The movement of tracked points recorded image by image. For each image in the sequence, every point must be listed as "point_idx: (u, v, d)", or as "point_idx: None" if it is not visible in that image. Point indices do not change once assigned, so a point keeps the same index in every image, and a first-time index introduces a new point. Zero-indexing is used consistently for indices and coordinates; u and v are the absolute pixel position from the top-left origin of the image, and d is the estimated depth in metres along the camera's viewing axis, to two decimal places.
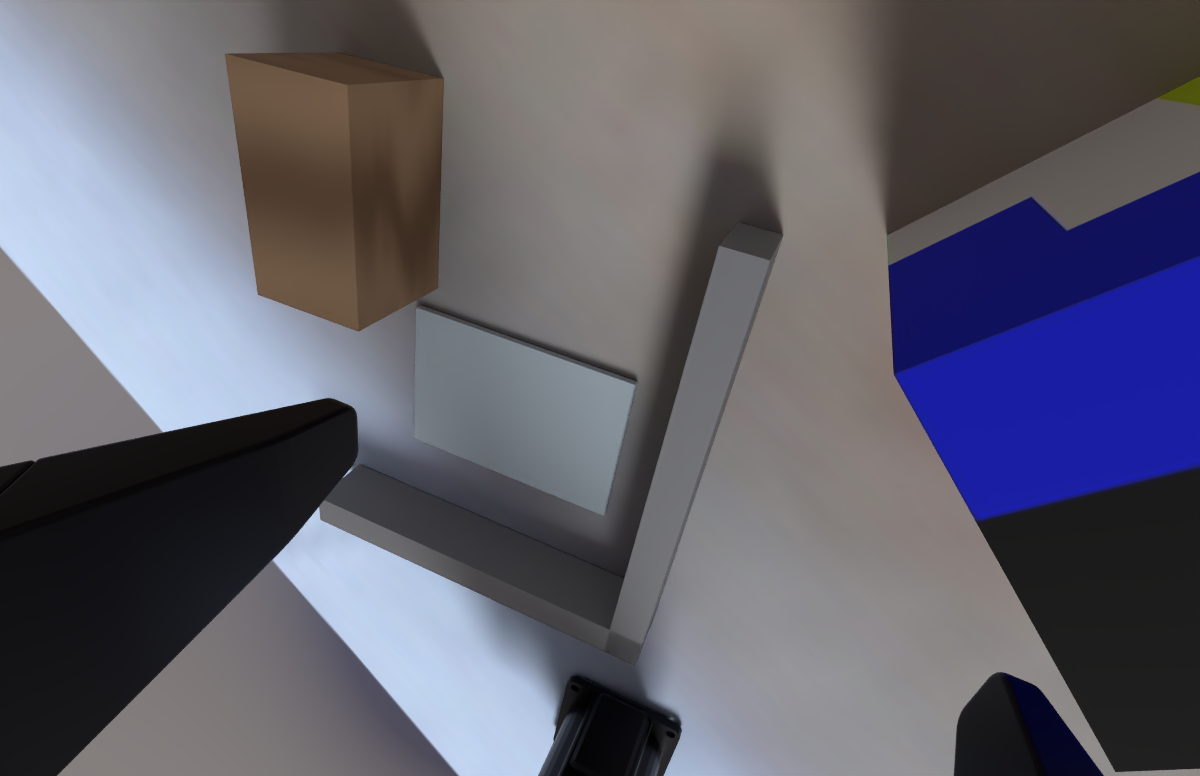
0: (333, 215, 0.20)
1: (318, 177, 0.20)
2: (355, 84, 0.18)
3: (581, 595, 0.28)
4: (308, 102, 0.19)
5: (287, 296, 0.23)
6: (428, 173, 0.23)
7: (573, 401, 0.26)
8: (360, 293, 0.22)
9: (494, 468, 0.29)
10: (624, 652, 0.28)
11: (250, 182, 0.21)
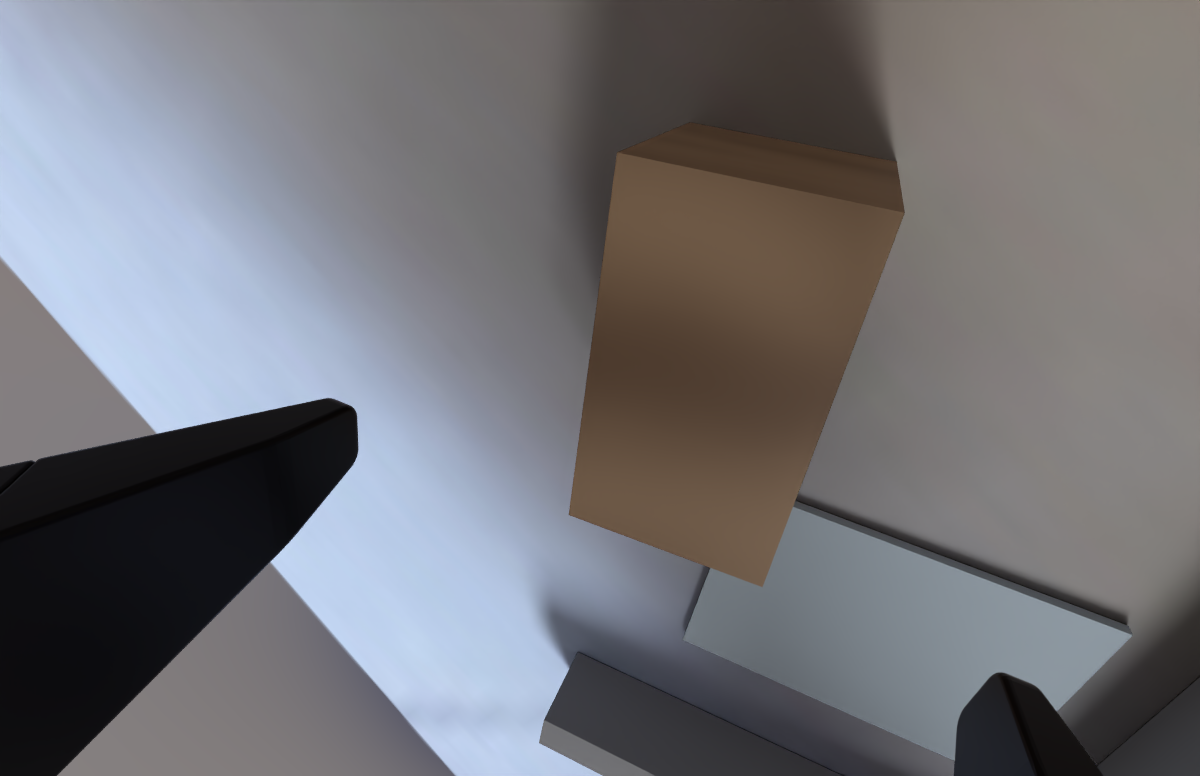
0: (775, 423, 0.11)
1: (765, 363, 0.11)
2: (900, 207, 0.09)
3: None
4: (790, 240, 0.10)
5: (628, 523, 0.14)
6: None
7: (995, 638, 0.17)
8: (781, 533, 0.13)
9: (812, 694, 0.20)
10: None
11: (606, 359, 0.12)
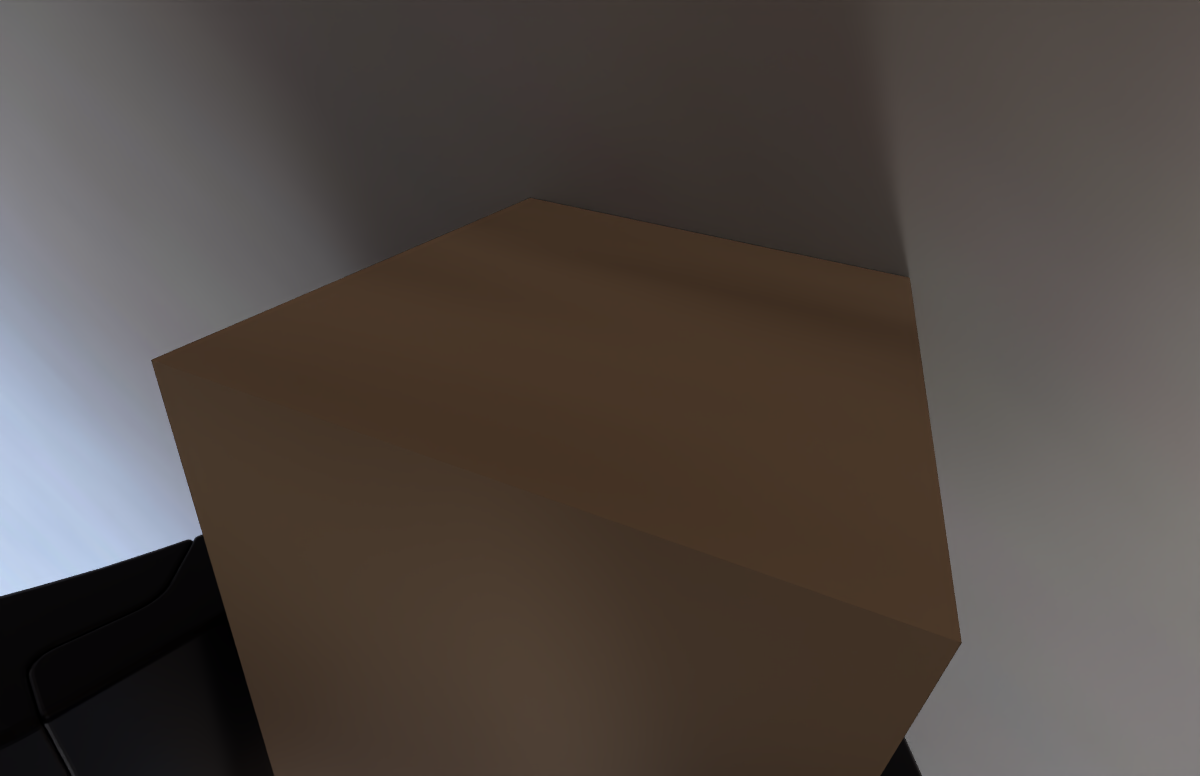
0: None
1: None
2: (942, 575, 0.03)
3: None
4: (609, 631, 0.03)
5: None
6: None
7: None
8: None
9: None
10: None
11: (291, 741, 0.06)
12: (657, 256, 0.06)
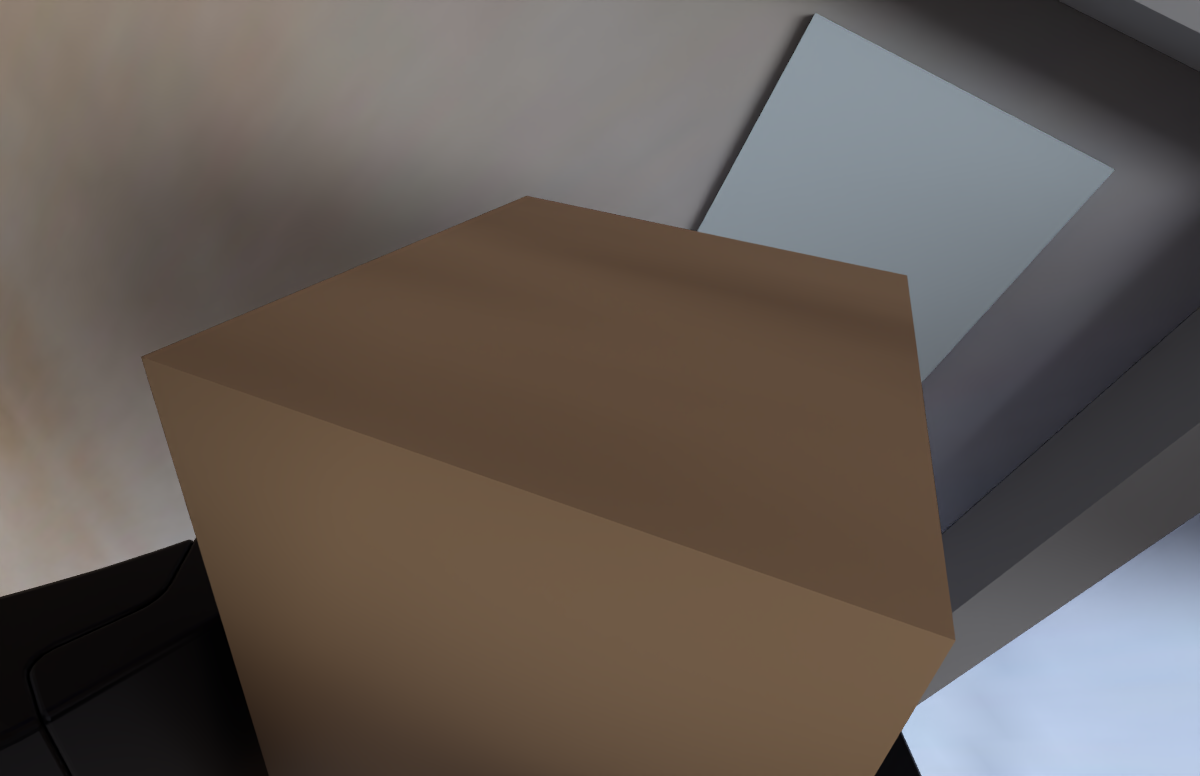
0: None
1: None
2: (937, 572, 0.03)
3: None
4: (603, 630, 0.03)
5: None
6: None
7: (822, 155, 0.15)
8: None
9: (925, 368, 0.16)
10: None
11: (284, 742, 0.06)
12: (653, 254, 0.06)
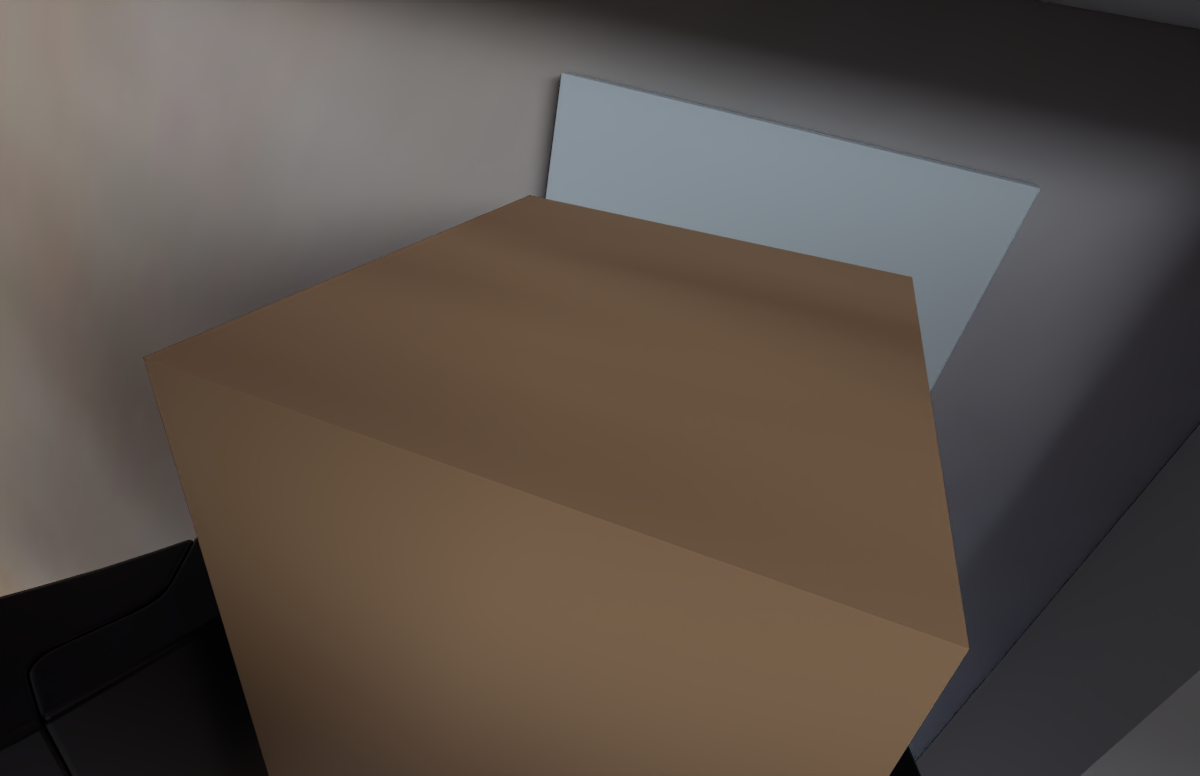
0: None
1: None
2: (949, 579, 0.03)
3: None
4: (609, 637, 0.03)
5: None
6: None
7: None
8: None
9: None
10: None
11: (285, 743, 0.06)
12: (658, 254, 0.06)
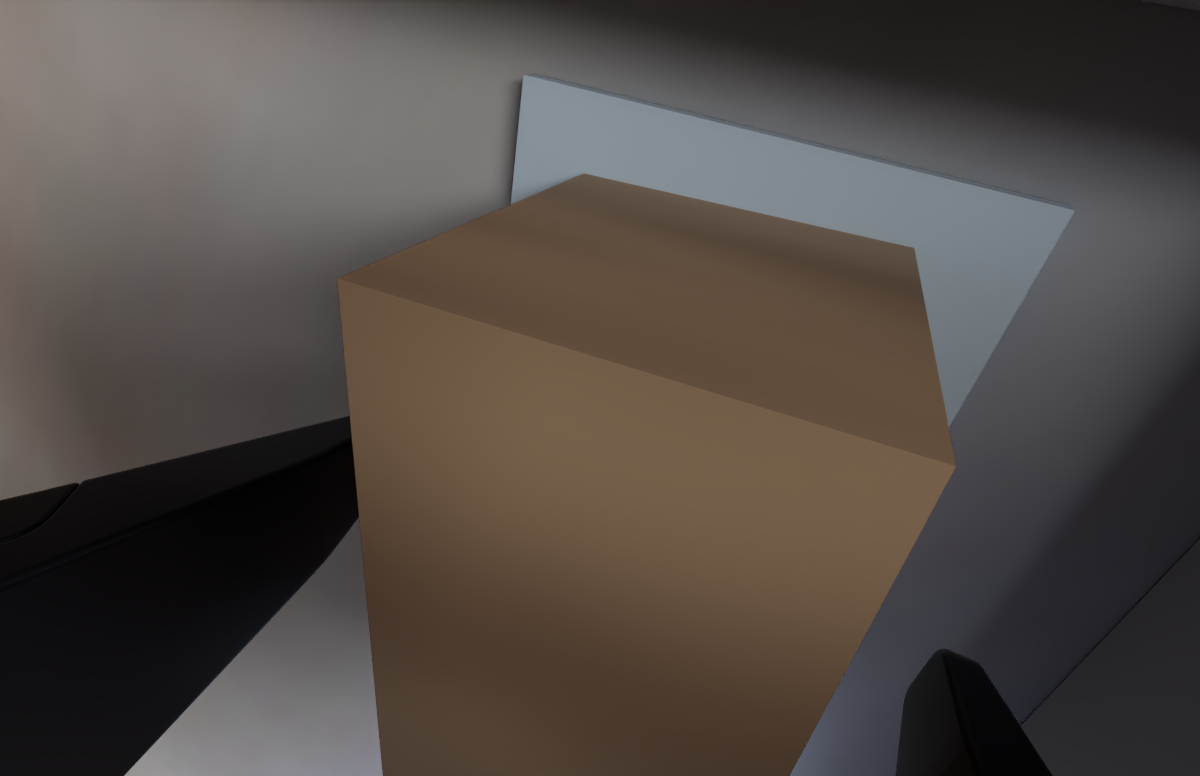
0: (690, 769, 0.06)
1: (663, 679, 0.06)
2: (943, 432, 0.04)
3: None
4: (695, 484, 0.04)
5: None
6: None
7: None
8: None
9: None
10: None
11: (394, 616, 0.07)
12: (702, 223, 0.08)
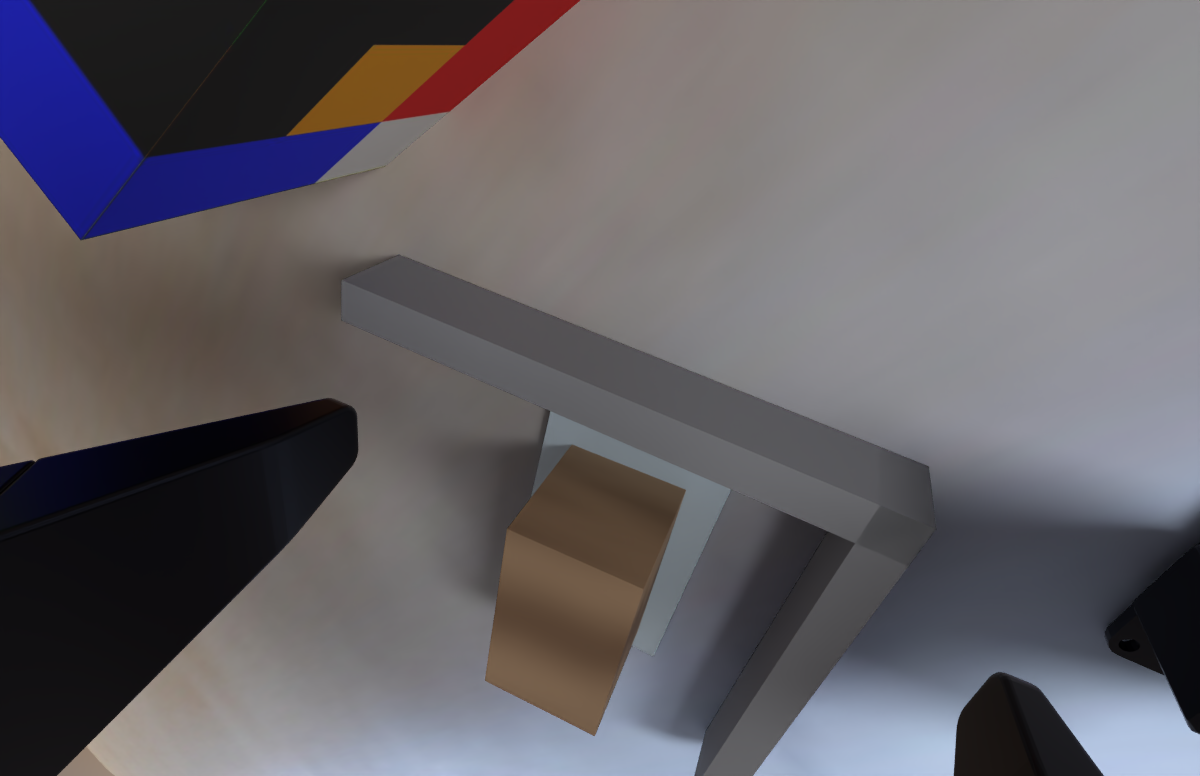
0: (594, 660, 0.21)
1: (586, 633, 0.20)
2: (646, 579, 0.19)
3: (830, 560, 0.19)
4: (593, 586, 0.19)
5: (519, 691, 0.23)
6: (658, 567, 0.23)
7: None
8: (603, 709, 0.22)
9: (679, 589, 0.25)
10: (905, 536, 0.17)
11: (504, 612, 0.21)
12: (611, 481, 0.22)
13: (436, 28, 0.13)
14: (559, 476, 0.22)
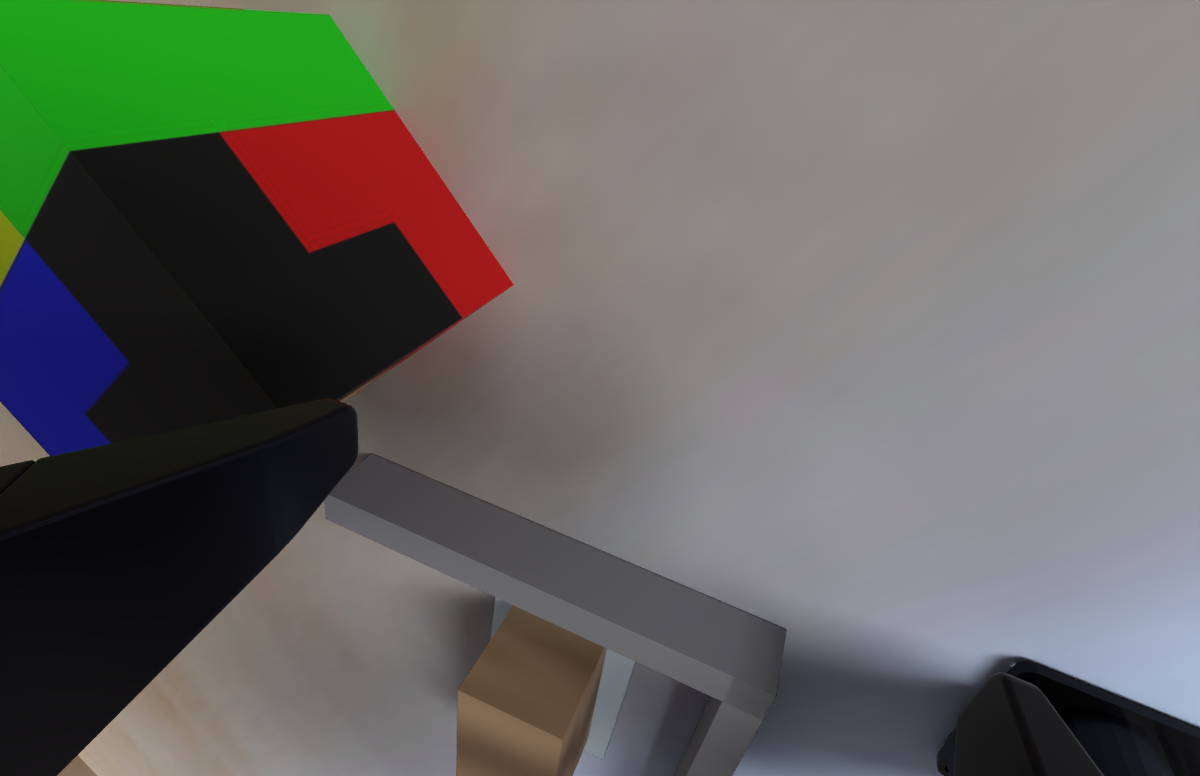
0: None
1: (526, 766, 0.25)
2: (565, 730, 0.24)
3: (714, 704, 0.24)
4: (526, 734, 0.24)
5: None
6: (592, 697, 0.28)
7: None
8: None
9: (615, 709, 0.30)
10: (756, 699, 0.22)
11: (464, 747, 0.26)
12: (547, 634, 0.27)
13: (370, 380, 0.19)
14: (504, 632, 0.27)
